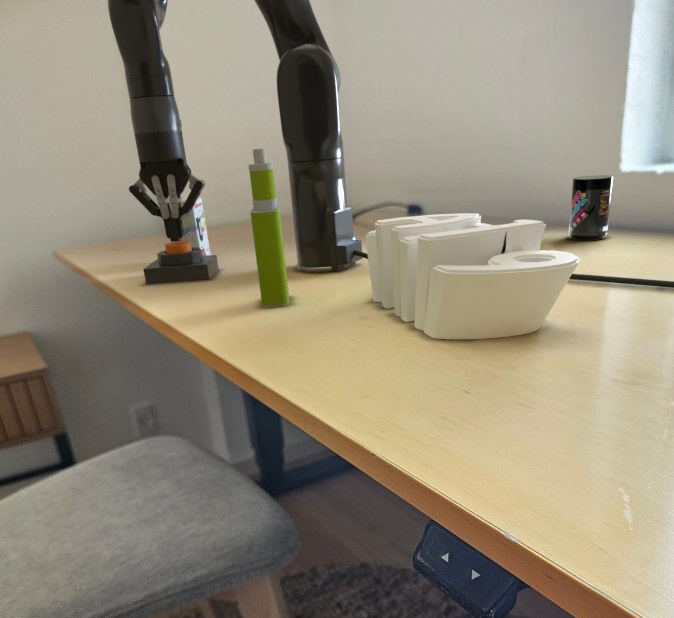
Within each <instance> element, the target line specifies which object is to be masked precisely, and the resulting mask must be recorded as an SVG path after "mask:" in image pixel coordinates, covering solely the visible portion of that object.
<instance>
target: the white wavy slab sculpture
mask: <svg viewBox="0 0 674 618" xmlns="http://www.w3.org/2000/svg"><path fill="white" fill-rule="evenodd" d="M546 227H547V224H546V223H544V221H542V220H537V219H514V220H513V222H510V223H503V224H496V225H494V224H489V223H484V222H482V215H480V213H467V212H466V213H465V212H464V213H463V212H462V213H438V214H425V215H424V214H423V215H413V216H402V217H394V218H385V219H379V220H376V222H374V230H371V231H369V232H367V234H365V235H364V238H365V244H366V254H368V259H367V260H368V261H367V262H368V268H369V276H370V284H371V291H372V298H373V299H372V300H373V303H381V307H382V308H384V309H388V310H389V309H393V314H394V315H395V316H396V317H399V318H400V319H401V320H402V321H403V322H405V323H410V322H414V325H413V326H414V328H415V329H417V330H420V331H423V333H424V334H425V335H426V336H428V337H430V338H432V339H437V340H485V339H498V338H508V337H516V336H522V335H523V336H524V335H527V334H531V333H534V332H536V331H538V330H539V329H541V327H542V326H543V324H544V322H545V320H546V318H547V317H548V315H549V313H550V312H551V310H552V308H553V307H554V305H555V304H556V302H557V300H558V298H559V297H560V295H561V293H562V292H563V291H564V288H565V287H566V285H567V283H568V281H569V280H570V279H569V278H570V277H571V275H572V274H574V272H575V270H576V269H577V267H578V265H579V263H580V261H581V259H580V258H579V257H578V256H577V255H576V254H575V253H571V252H567V251H562V250H561V251H560V250H546V249H545V250H544V249H543V250H541V249H540V246H541V243H542V240H543V237H544V233H545V231H546Z"/></svg>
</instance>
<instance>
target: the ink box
mask: <svg viewBox="0 0 674 618" xmlns="http://www.w3.org/2000/svg"><path fill="white" fill-rule="evenodd" d="M202 198H203V197H202V196H199V197H198V199H197V201H196V203H195V205H194V206H193V208H192V210H191V211H190V212H188V213H187V214H184V215H183V216H182V222H183V228H184V236H183V237H182V240H181V241H190V242H191V247H197V248H200V249H201V252H202V256H208V255H212V254H211V247H210V243H209V242H210V241H209V237H208V230H207V225H206V218H205V213H204V212H205V211H204V206H203V199H202ZM181 199H182V201H181V207H183V205H184V203H185V201H186V199H187V197H181ZM170 206H171V204H170ZM172 218H173V217H172ZM175 242H176V241H175Z"/></svg>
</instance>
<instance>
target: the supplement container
mask: <svg viewBox="0 0 674 618" xmlns="http://www.w3.org/2000/svg"><path fill="white" fill-rule="evenodd" d="M613 181H614V175H606V174H605V175H604V174H602V175H601V174H600V175H599V174H597V175H582V176H575V177H573V178H572V187H571V189H572V190H571V202H570V213H569V214H570V215H569V227H568V237H569V238H570V239H571V240H574V241H582V242H583V241H585V242H587V241H588V242H589V241H599V240H603V239H605V238H606V237H607V234H608V230H609V229H608V228H609V219H610V209H611V202H612V201H611V200H612V190H613V183H614V182H613Z"/></svg>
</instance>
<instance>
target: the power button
mask: <svg viewBox="0 0 674 618" xmlns="http://www.w3.org/2000/svg"><path fill="white" fill-rule="evenodd" d="M164 247H165V250H166V254H178V253H185V252H190V251H192V247H191V242H190V241H176V242H171V241H170V242H167V243H165V244H164Z"/></svg>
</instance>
